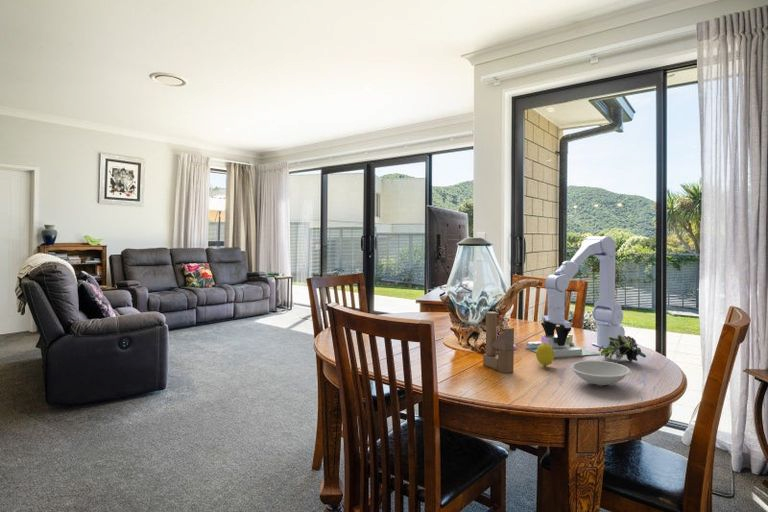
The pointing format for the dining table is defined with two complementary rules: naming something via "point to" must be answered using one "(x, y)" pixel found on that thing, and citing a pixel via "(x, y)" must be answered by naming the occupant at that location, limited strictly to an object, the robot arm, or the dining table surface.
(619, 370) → the dish
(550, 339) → the steel block
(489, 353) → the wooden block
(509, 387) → the dining table surface
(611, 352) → the green leafy plant
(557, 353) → the vise base
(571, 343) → the block
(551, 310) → the robot arm
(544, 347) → the lemon
